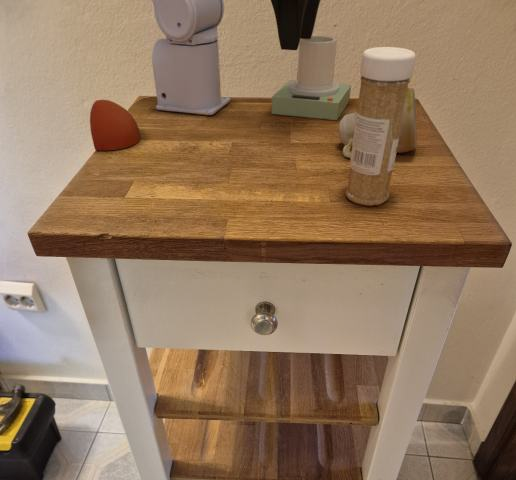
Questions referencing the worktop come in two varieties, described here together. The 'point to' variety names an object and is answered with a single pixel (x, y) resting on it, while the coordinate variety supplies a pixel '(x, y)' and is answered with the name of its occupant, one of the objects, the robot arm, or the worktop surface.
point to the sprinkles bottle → (378, 122)
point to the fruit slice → (112, 126)
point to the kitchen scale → (311, 101)
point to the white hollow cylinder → (316, 62)
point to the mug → (406, 132)
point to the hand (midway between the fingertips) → (296, 43)
